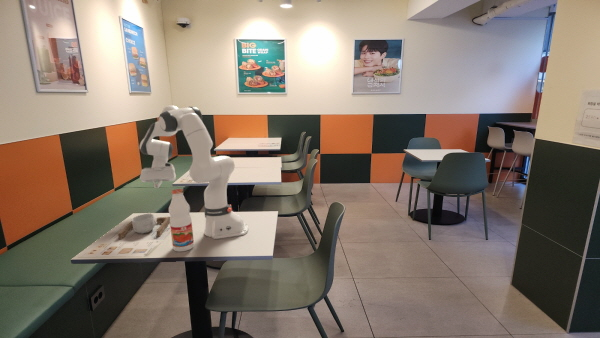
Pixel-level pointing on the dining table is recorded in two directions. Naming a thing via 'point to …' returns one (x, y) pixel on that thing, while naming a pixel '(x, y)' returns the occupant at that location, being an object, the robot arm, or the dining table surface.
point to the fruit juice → (180, 222)
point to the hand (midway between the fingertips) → (156, 187)
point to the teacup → (143, 223)
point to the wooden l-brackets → (165, 223)
